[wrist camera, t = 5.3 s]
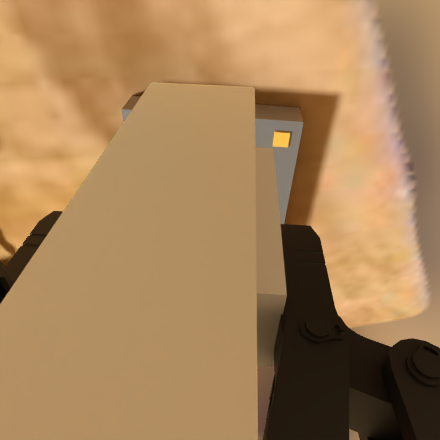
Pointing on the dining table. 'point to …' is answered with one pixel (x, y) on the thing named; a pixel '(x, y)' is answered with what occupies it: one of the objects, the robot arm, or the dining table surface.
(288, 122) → the socket
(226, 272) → the cream long rectangular block
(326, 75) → the dining table surface
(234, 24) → the dining table surface
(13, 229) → the dining table surface
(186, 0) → the dining table surface
